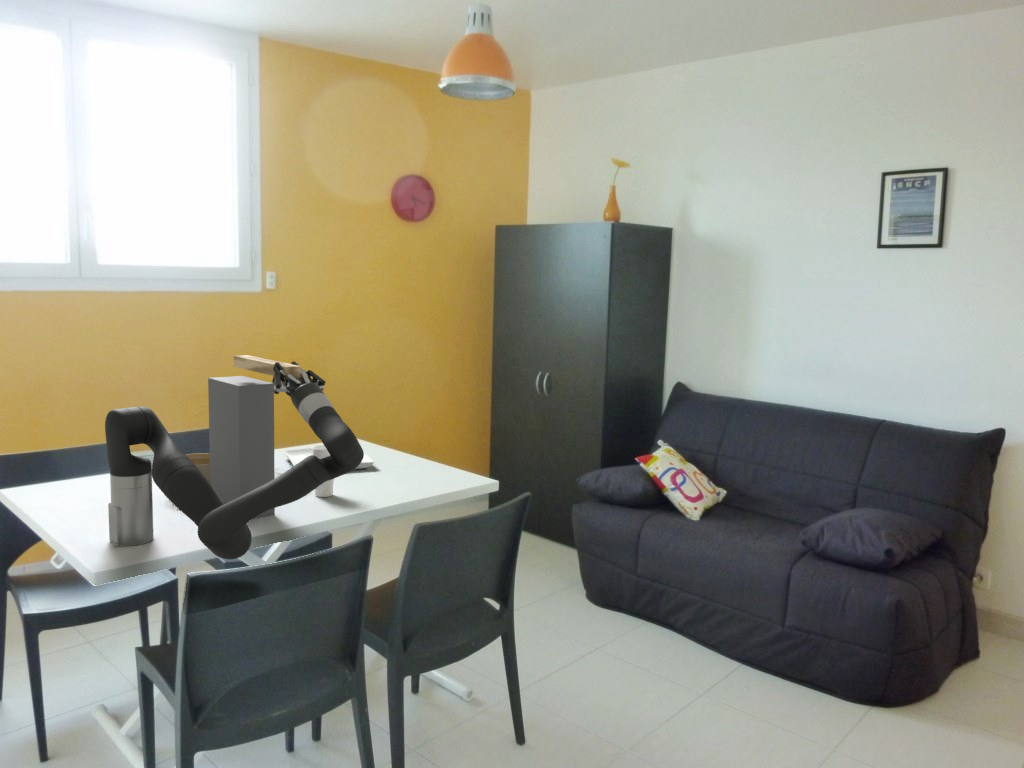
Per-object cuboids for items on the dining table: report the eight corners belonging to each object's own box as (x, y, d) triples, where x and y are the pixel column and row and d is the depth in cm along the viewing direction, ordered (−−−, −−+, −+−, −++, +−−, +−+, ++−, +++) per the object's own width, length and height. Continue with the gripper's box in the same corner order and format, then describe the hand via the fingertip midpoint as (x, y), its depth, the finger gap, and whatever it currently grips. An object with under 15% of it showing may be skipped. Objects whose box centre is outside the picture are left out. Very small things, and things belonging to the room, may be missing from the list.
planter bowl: (193, 484, 249) (193, 451, 248) (237, 490, 244) (236, 456, 243) (156, 497, 234) (155, 461, 233) (201, 503, 229) (201, 467, 228)
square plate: (282, 459, 288) (282, 449, 288) (356, 454, 300) (356, 444, 299) (295, 477, 264) (295, 465, 264) (375, 471, 276) (375, 460, 275)
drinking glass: (308, 494, 242) (308, 446, 240) (327, 491, 247) (327, 444, 245) (320, 499, 237) (320, 450, 235) (339, 496, 242) (339, 447, 240)
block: (286, 378, 196) (286, 366, 196) (233, 366, 218) (233, 355, 218) (301, 378, 199) (301, 366, 199) (247, 365, 221) (247, 355, 220)
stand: (240, 521, 214) (238, 385, 209) (210, 505, 228) (208, 377, 223) (274, 515, 221) (273, 383, 216) (243, 499, 235) (242, 375, 230)
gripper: (282, 420, 188) (254, 378, 198) (335, 415, 198) (305, 374, 208) (290, 395, 185) (261, 353, 194) (343, 391, 195) (313, 351, 204)
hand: (284, 364), depth 201 cm, fingers closed on block, 4 cm apart
